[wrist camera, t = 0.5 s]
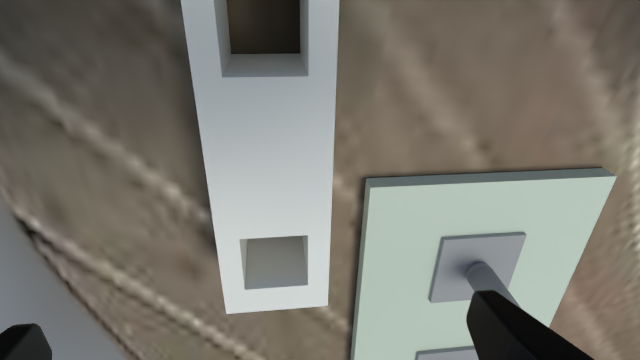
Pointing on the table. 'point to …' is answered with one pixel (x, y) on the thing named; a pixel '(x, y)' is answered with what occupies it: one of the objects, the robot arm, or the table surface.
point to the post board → (466, 253)
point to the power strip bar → (267, 155)
